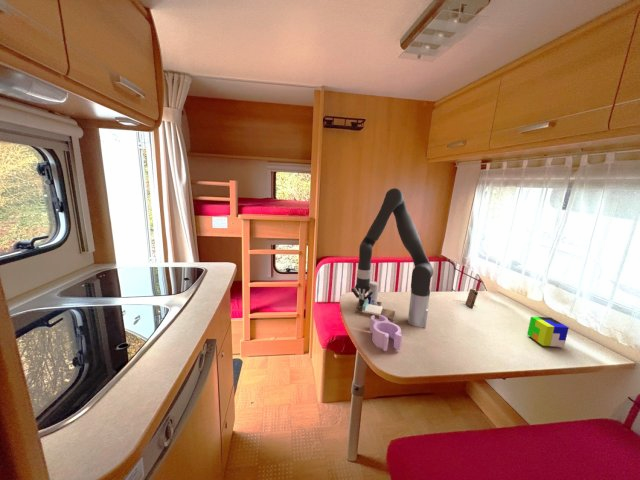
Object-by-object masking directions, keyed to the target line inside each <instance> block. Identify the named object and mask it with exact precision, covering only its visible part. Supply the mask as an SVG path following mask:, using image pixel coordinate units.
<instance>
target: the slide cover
mask: <svg viewBox="0 0 640 480" xmlns="http://www.w3.org/2000/svg"><path fill="white" fill-rule="evenodd" d="M368 302H369V300H368V299H367V300H366V301H365V303H364V304H363V307H361V308H362V309H361V311H362V312H365V313H370V314H375V315H380V314H381V312H382V309H384V307H383V306H382V305H381V306H379V305H377V306H376V305H371V304H368Z"/></svg>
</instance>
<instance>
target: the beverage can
mask: <svg viewBox="0 0 640 480" xmlns="http://www.w3.org/2000/svg"><path fill="white" fill-rule="evenodd" d="M369 286H370V289H371V290H372V291H373V294H372V295H371V296H370V297H369V298H367V300H369V302H368V304H371V305H376V306H378V304H377V301H378V294H379V282H377V281H371V280H370V285H369ZM368 294H369V291H368V292H367V295H368Z"/></svg>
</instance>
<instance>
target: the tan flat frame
mask: <svg viewBox="0 0 640 480" xmlns="http://www.w3.org/2000/svg"><path fill="white" fill-rule="evenodd" d="M366 300H368V298H367V299H364V303H365V301H366ZM377 305H378V306H381V307H382V301H378V300H377ZM360 308H363V305H362V306H361V305H360V304H359V303H358V304H357V306H356V307H355V309H354V312H353V313H354V314H358V315H363V316H368V317H371V316H372V315H374V316H375V319H376V318H377V319H379V315H375V314H370V313H365V312H362V310H359V309H360ZM380 315H383V316H385V317H387V318H388V321H389V322H394V319H395V315H396V310H392V309H387V308H383V309H382V312H381V314H380Z"/></svg>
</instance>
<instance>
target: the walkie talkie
mask: <svg viewBox="0 0 640 480" xmlns="http://www.w3.org/2000/svg"><path fill="white" fill-rule="evenodd" d="M483 284H484V283H483V282H482V283H481V284H480V285H479V287H478V288H477V289H476V288H470V289H469V291H468V294H467V297H466V298H467V299H466V301H465V300H461V299H457V301H459V302H463V303H465V305H466V306H467V307H468V308H469V309H474V307H477V308H479V306H478V305H476V304H475V303H476V300H477V296H478V294H479V292H478V290H480V287H482V285H483Z"/></svg>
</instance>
